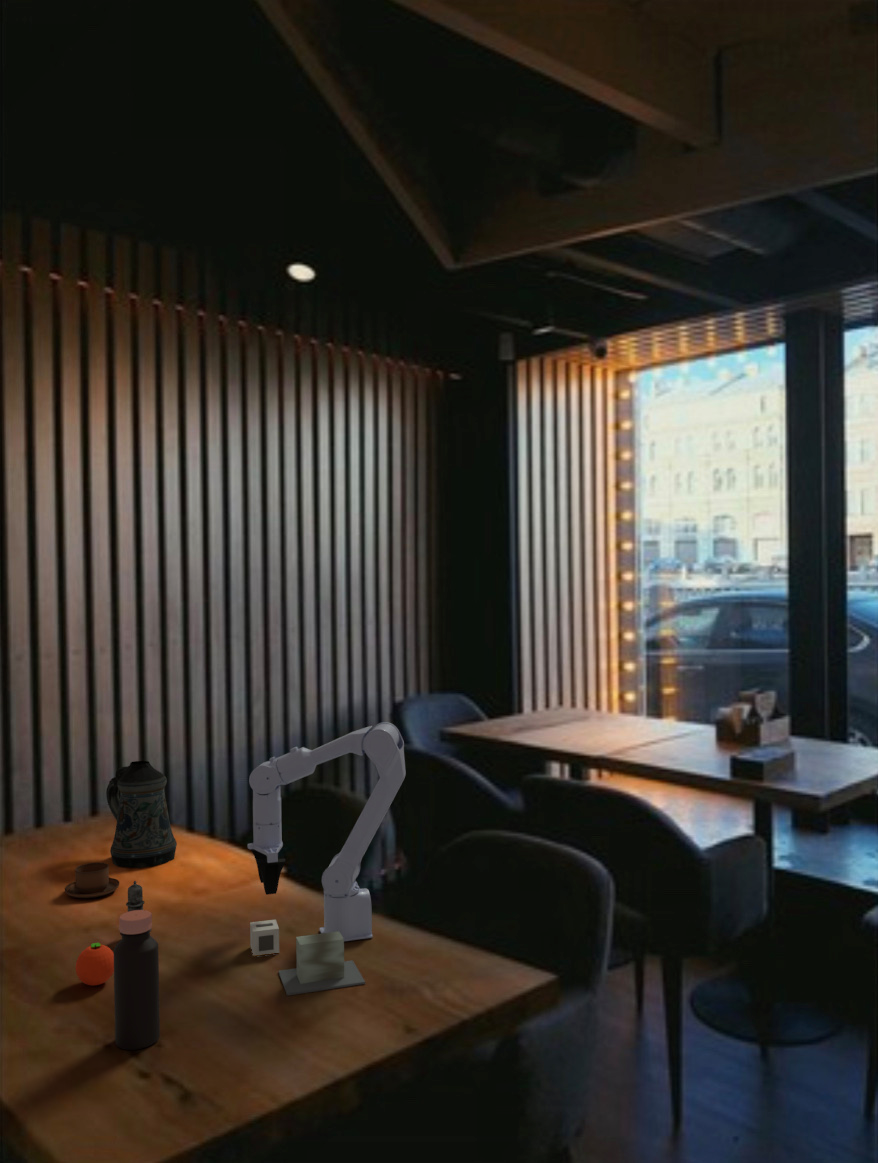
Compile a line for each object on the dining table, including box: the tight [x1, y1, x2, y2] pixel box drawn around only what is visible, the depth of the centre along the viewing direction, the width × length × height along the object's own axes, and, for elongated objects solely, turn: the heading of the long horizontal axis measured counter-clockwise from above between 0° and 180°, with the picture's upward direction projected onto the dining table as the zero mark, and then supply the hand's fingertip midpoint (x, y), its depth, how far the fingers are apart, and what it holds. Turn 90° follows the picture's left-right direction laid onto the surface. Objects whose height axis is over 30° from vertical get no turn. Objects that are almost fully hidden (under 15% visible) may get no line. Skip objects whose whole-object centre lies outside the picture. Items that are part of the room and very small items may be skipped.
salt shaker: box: [125, 880, 145, 912], centre depth 193 cm, size 6×6×12 cm
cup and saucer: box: [64, 862, 120, 899], centre depth 222 cm, size 12×12×6 cm
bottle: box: [113, 909, 161, 1051], centre depth 152 cm, size 7×7×20 cm
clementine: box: [75, 942, 114, 987], centre depth 173 cm, size 8×7×7 cm
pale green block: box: [295, 931, 345, 984], centre depth 174 cm, size 8×4×7 cm, turn 108°
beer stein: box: [105, 760, 178, 869], centre depth 248 cm, size 16×19×25 cm
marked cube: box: [249, 919, 280, 956], centre depth 187 cm, size 5×5×5 cm
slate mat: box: [278, 960, 366, 996], centre depth 174 cm, size 14×10×1 cm
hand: (268, 887), depth 196 cm, fingers open, 7 cm apart
